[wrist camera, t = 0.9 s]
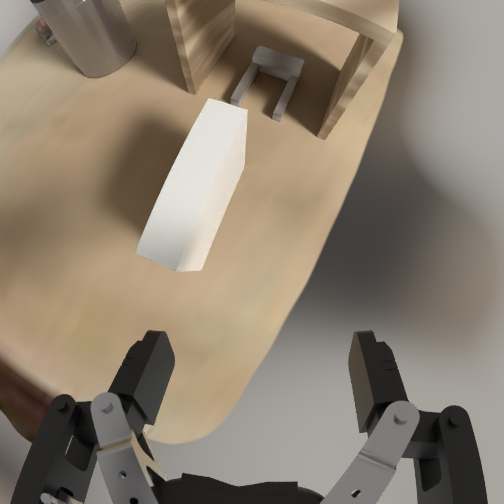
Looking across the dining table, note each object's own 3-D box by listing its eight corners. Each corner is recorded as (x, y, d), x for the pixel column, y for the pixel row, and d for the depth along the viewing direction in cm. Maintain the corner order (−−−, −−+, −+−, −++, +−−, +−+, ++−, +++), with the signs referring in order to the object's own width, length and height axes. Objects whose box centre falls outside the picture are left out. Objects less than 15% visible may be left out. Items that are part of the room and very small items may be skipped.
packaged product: (39, 34, 26) (30, 22, 26) (50, 48, 31) (39, 34, 31) (122, -23, 27) (103, -30, 27) (128, -7, 32) (109, -15, 32)
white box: (175, 259, 29) (134, 253, 17) (219, 157, 30) (209, 98, 18) (201, 270, 29) (175, 271, 17) (244, 167, 30) (247, 110, 18)
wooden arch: (188, 92, 30) (158, -26, 12) (228, 35, 31) (226, -69, 13) (324, 140, 31) (395, 34, 12) (346, 74, 32) (400, -21, 13)
